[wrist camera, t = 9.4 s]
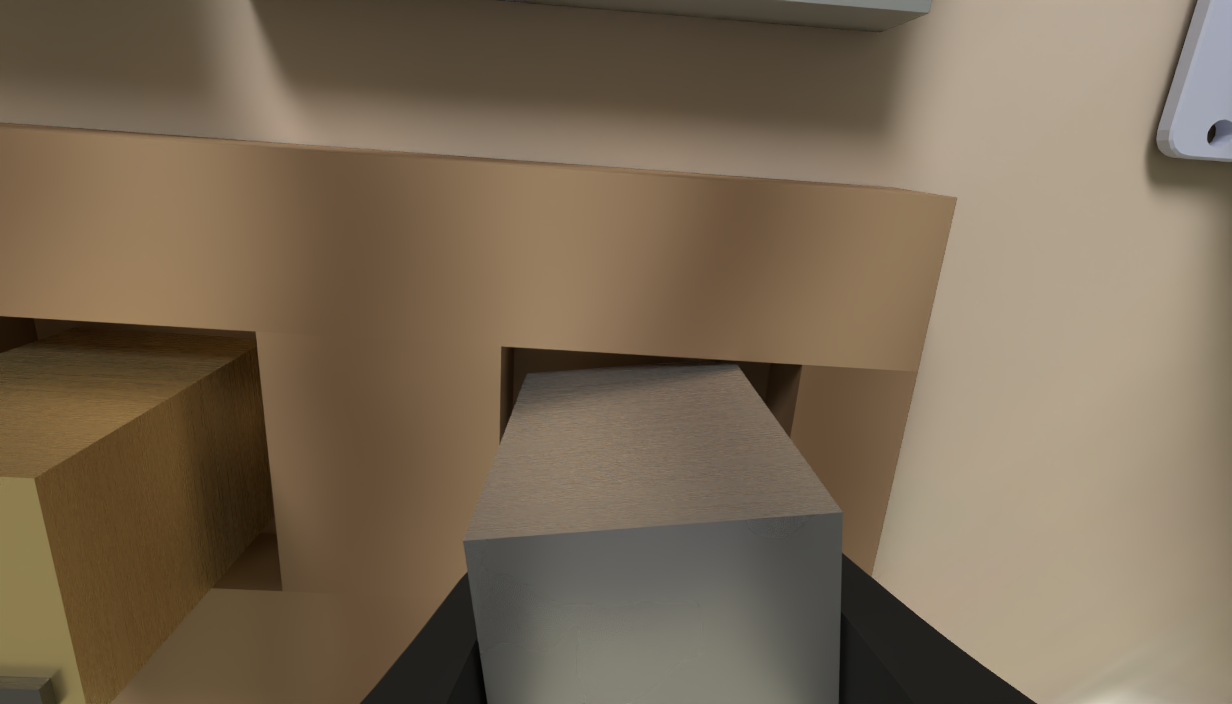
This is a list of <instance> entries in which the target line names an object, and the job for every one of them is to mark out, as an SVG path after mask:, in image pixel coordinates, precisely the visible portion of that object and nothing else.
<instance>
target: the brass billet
mask: <svg viewBox="0 0 1232 704" xmlns="http://www.w3.org/2000/svg"><path fill="white" fill-rule="evenodd" d="M274 516H275V513H274V503H273V494H272V484H271V474H270V465H269V455H268V446H267V436H266V426H265V417H264V407H263V398H262V388H261V378H260V369H259V359H258V349H257V340H256V338H243V337H227V336H210V335H194V334H177V333H160V332H144V331H127V330H111V329H94V328H77V327H74V328H71V329H68V330H65V331H63V332H60V333H57V334H54V335H51V336H48V337H46V338H43V339H40V340H37V341H34V342H31V343H29V344H26V345H23V346H20V347H17V348H14V349H12V350H9V351H6V352H3V353H0V704H111V703H112V701H113V700H114V699H115V698H116V697H117V696H118V695H119V693H120V692H121V691H122V690H123V689H124V688H125V687H126V685H127V684H128V683H129V682H130V681H131V680H132V679H133V677H134V676H135V675H136V674H137V673H138V672H139V671H140V669H141V668H142V667H143V666H144V665H145V664H146V663H147V661H148V660H149V659H150V658H151V657H152V656H153V655H154V653H155V652H156V651H157V650H158V649H159V648H160V646H161V645H162V644H163V643H164V642H165V641H166V640H167V638H168V637H169V636H170V635H171V634H172V633H173V632H174V630H175V629H176V628H177V627H178V626H179V625H180V624H181V622H182V621H183V620H184V619H185V618H186V617H187V616H188V614H189V613H190V612H191V611H192V610H193V609H194V608H195V606H196V605H197V604H198V603H199V602H200V601H201V599H202V598H203V597H204V596H205V595H206V594H207V593H208V591H209V590H210V589H211V588H212V587H213V586H214V585H215V583H216V582H217V581H218V580H219V579H220V578H221V577H222V575H223V574H224V573H225V572H226V571H227V570H228V569H229V567H230V566H231V565H232V564H233V563H234V562H235V561H236V559H237V558H238V557H239V556H240V555H241V554H242V552H243V551H244V550H245V549H246V548H247V547H248V546H249V544H250V543H251V542H252V541H253V540H254V539H255V538H256V536H257V535H258V534H259V533H260V532H261V531H262V530H263V528H264V527H265V526H266V525H267V524H268V523H269V522H270V520H271V519H272V518H273V517H274Z"/></svg>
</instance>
